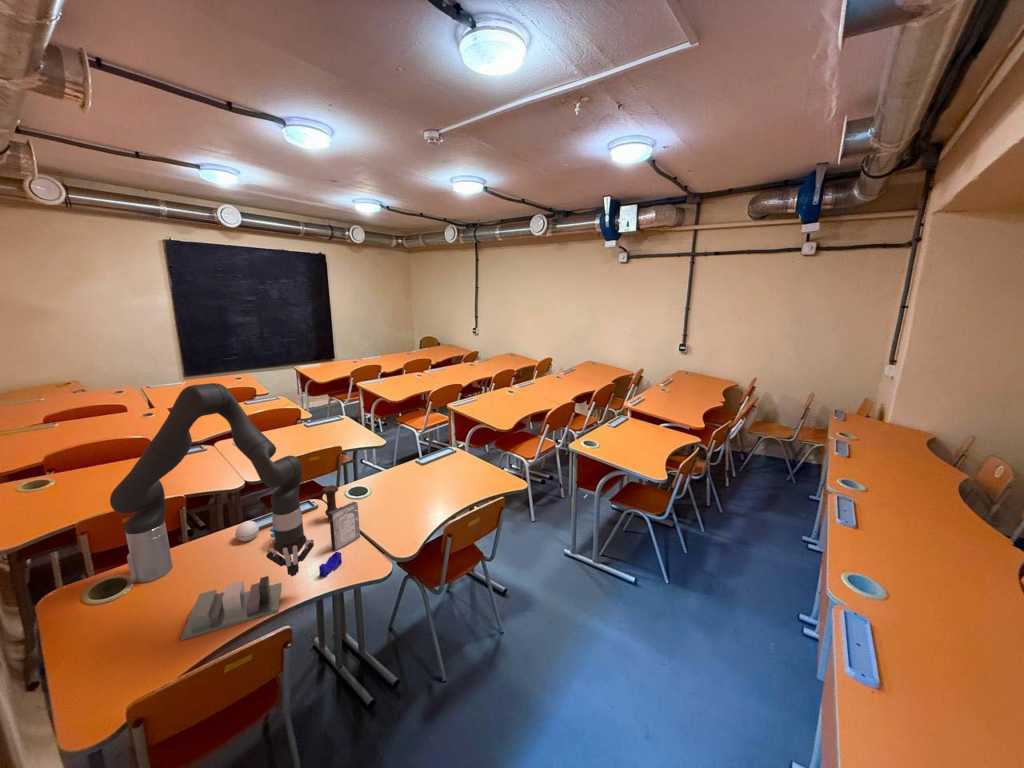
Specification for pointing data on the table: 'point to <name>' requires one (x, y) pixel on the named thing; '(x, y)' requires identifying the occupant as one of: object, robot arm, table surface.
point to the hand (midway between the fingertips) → (293, 574)
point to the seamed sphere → (247, 531)
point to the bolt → (330, 498)
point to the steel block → (234, 598)
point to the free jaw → (258, 595)
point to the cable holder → (330, 564)
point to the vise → (212, 616)
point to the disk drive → (344, 525)
